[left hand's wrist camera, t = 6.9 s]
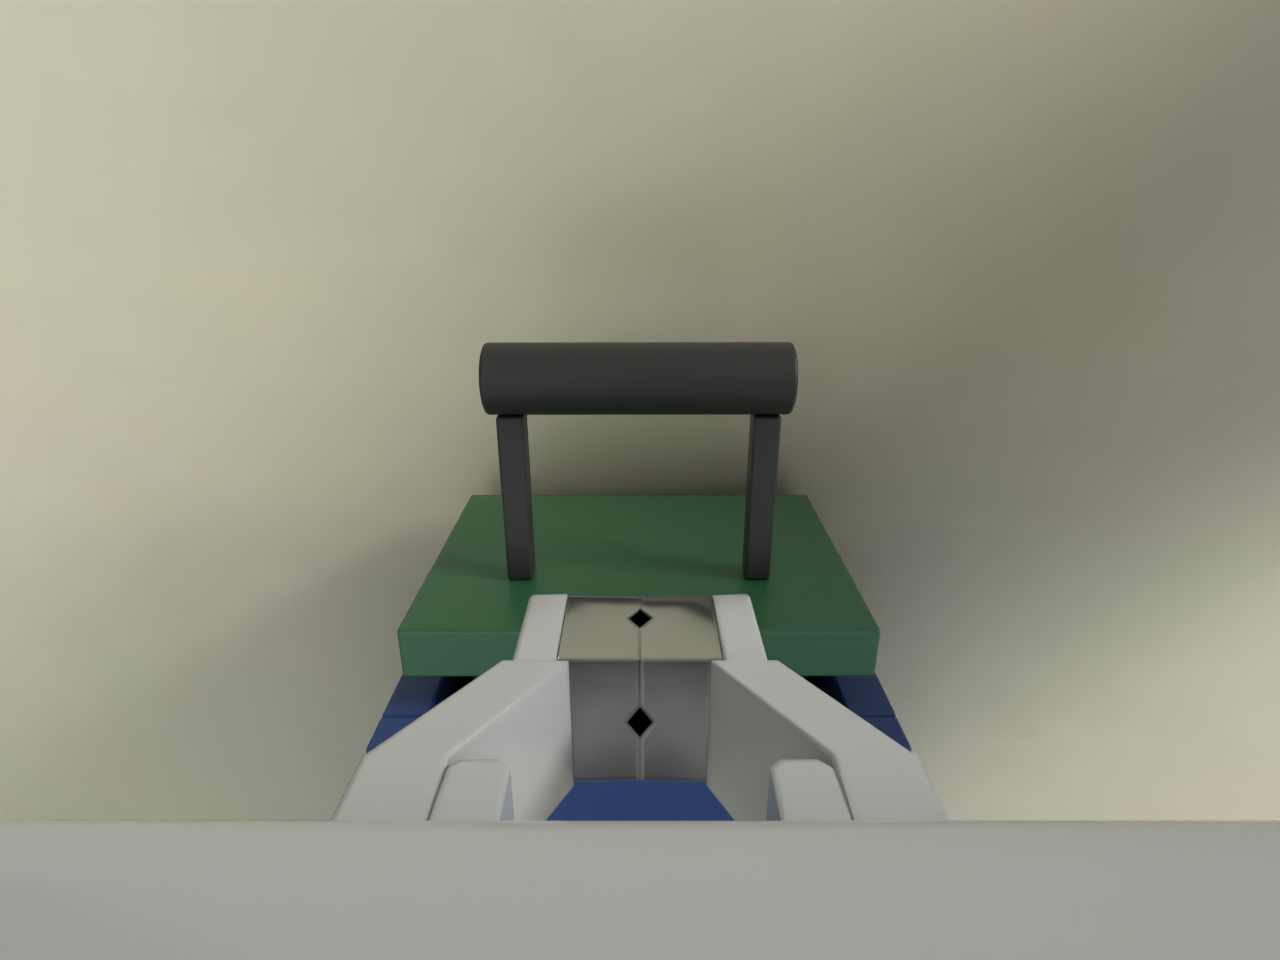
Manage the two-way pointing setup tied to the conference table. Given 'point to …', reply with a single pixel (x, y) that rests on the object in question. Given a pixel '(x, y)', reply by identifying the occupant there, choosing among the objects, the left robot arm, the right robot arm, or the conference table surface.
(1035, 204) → the conference table surface
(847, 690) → the blue block
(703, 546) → the drawer
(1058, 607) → the conference table surface
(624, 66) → the conference table surface
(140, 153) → the conference table surface
